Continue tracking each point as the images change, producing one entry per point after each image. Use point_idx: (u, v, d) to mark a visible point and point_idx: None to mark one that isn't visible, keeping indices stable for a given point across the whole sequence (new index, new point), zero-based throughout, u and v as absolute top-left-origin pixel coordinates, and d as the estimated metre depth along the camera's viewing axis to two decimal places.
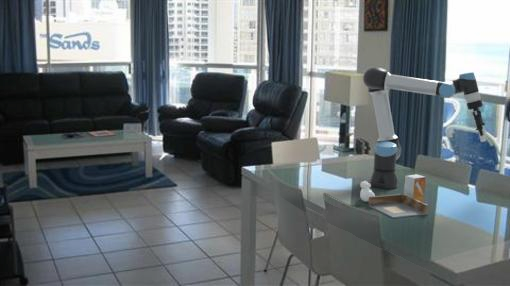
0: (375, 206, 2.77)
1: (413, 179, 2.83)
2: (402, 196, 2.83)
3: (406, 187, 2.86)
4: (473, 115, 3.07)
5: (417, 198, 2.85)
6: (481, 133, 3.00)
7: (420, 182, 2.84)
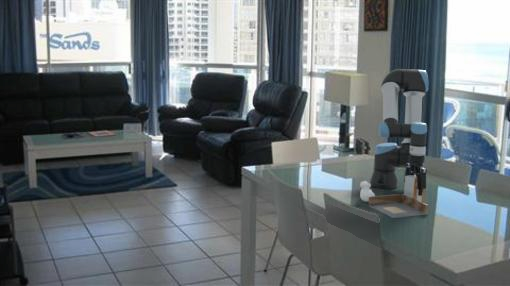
0: (375, 206, 2.77)
1: (413, 179, 2.82)
2: (402, 196, 2.83)
3: (406, 187, 2.86)
4: None
5: None
6: None
7: None
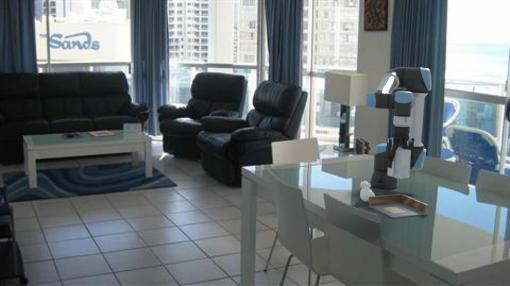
0: (375, 206, 2.77)
1: (409, 151, 2.65)
2: (402, 196, 2.83)
3: (403, 162, 2.64)
4: None
5: None
6: (388, 165, 2.67)
7: None
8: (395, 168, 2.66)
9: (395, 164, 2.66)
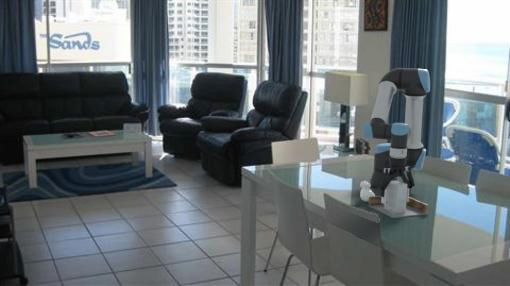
0: (375, 206, 2.77)
1: (406, 185, 2.67)
2: None
3: (399, 196, 2.66)
4: None
5: None
6: (381, 194, 2.67)
7: None
8: (391, 202, 2.69)
9: (392, 197, 2.68)
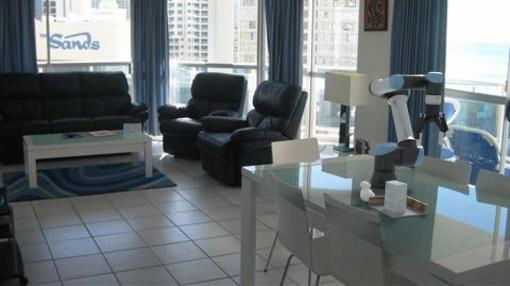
0: (375, 206, 2.77)
1: (406, 185, 2.67)
2: None
3: (399, 196, 2.66)
4: None
5: None
6: (416, 137, 2.90)
7: None
8: (391, 202, 2.69)
9: (392, 197, 2.68)
